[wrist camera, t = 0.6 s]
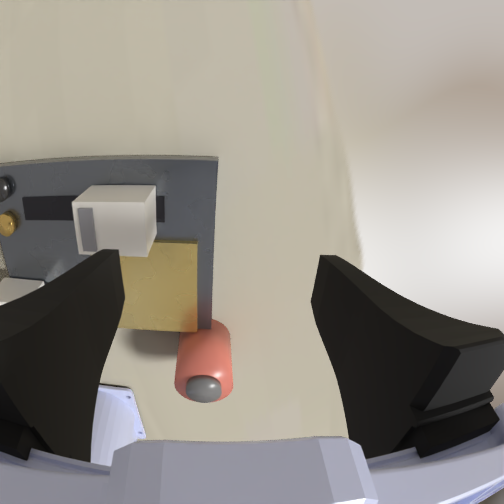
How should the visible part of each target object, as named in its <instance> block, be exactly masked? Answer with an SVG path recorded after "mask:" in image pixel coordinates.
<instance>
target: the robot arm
mask: <svg viewBox="0 0 504 504" xmlns="http://www.w3.org/2000/svg"><path fill="white" fill-rule="evenodd" d="M124 301H125V292H124V285H123V278H122V271H121V264H120V256H119V249H102V250H100V251H98V252H96V253H94V254H93V255H91V256H90V257H88V258H87V259H85V260H83V261H82V262H80V263H79V264H77V265H76V266H74V267H73V268H71V269H70V270H68V271H67V272H65V273H63V274H62V275H60V276H59V277H57V278H55V279H54V280H52V281H50V282H49V283H47V284H45V285H44V286H42V287H40V288H38V289H36V290H34V291H32V292H30V293H28V294H26V295H24V296H22V297H20V298H17V299H15V300H13V301H10V302H8V303H5V304H3V305H0V504H477V503H479V502H481V501H483V500H484V499H486V498H488V497H489V496H491V495H493V494H494V493H496V492H497V491H499V490H500V489H502V488H504V403H502V404H500V405H499V406H497V407H496V408H495V409H493V407H492V406H491V404H490V402H492V401H493V399H494V397H493V395H492V393H491V392H490V389H491V387H492V386H493V385H494V383H495V382H496V380H497V379H498V377H499V376H500V374H501V373H502V372H503V370H504V334H503V333H502V332H501V331H500V330H499V329H496V328H490V327H486V326H481V325H476V324H472V323H468V322H465V321H461V320H458V319H454V318H451V317H448V316H446V315H443V314H440V313H437V312H435V311H433V310H430V309H428V308H425V307H423V306H421V305H418V304H416V303H415V302H413V301H411V300H409V299H407V298H404V297H403V296H401V295H399V294H397V293H395V292H394V291H392V290H390V289H389V288H387V287H385V286H384V285H382V284H381V283H379V282H377V281H376V280H374V279H373V278H371V277H370V276H368V275H367V274H365V273H364V272H362V271H361V270H359V269H358V268H356V267H355V266H353V265H352V264H350V263H349V262H347V261H345V260H344V259H342V258H340V257H338V256H336V255H320V259H319V264H318V269H317V274H316V279H315V284H314V289H313V293H312V298H311V305H312V309H313V314H314V318H315V322H316V325H317V328H318V330H319V333H320V336H321V338H322V341H323V343H324V346H325V348H326V351H327V353H328V356H329V359H330V361H331V364H332V366H333V369H334V372H335V375H336V378H337V381H338V385H339V390H340V394H341V398H342V402H343V407H344V412H345V417H346V422H347V429H348V435H349V439H348V438H345V437H342V436H313V437H304V438H293V439H281V440H266V441H241V442H202V441H177V440H147V441H137V438H140V439H145V438H146V433H145V430H144V427H143V424H142V421H141V418H140V414H139V411H138V408H137V404H136V401H135V398H134V394H133V391H132V390H131V389H129V388H121V387H113V386H105V385H99V383H100V378H101V374H102V370H103V367H104V364H105V361H106V358H107V355H108V353H109V350H110V347H111V344H112V341H113V339H114V336H115V333H116V330H117V328H118V325H119V322H120V319H121V315H122V311H123V306H124Z"/></svg>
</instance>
